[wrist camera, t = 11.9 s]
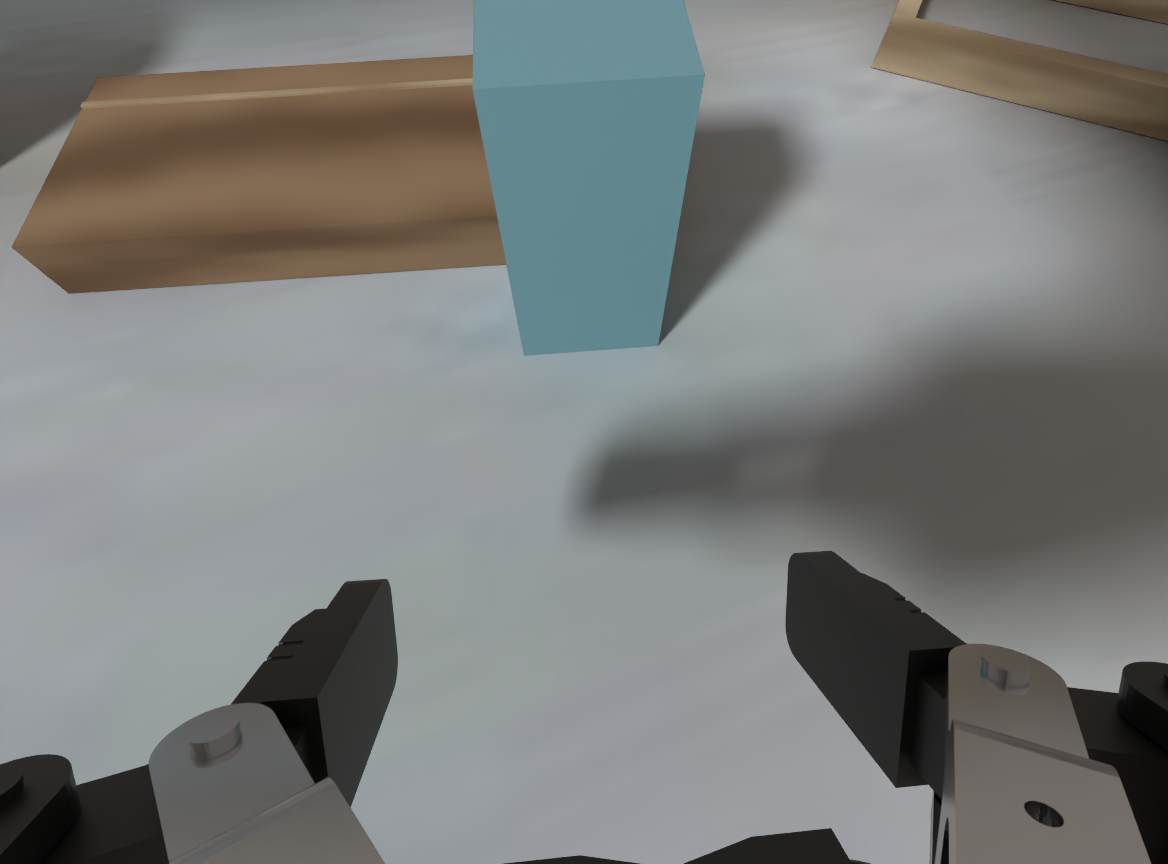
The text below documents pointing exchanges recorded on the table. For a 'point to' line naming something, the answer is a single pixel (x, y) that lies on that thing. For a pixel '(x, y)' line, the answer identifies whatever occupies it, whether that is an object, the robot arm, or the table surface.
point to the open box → (267, 177)
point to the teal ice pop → (587, 160)
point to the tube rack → (1032, 69)
